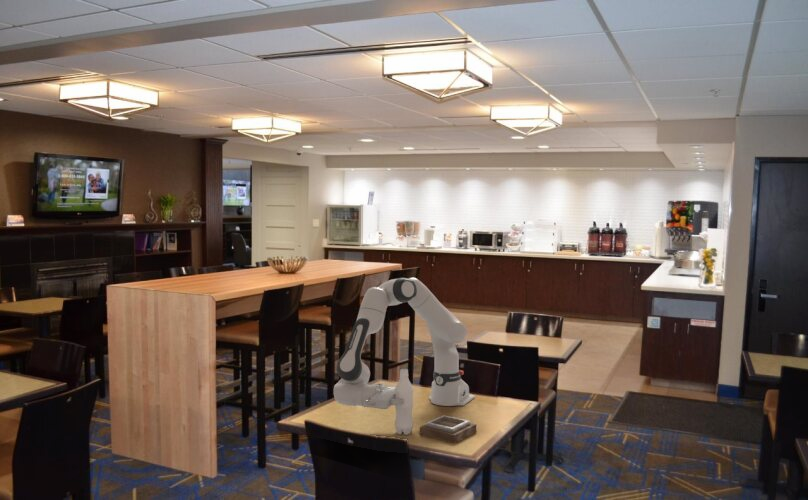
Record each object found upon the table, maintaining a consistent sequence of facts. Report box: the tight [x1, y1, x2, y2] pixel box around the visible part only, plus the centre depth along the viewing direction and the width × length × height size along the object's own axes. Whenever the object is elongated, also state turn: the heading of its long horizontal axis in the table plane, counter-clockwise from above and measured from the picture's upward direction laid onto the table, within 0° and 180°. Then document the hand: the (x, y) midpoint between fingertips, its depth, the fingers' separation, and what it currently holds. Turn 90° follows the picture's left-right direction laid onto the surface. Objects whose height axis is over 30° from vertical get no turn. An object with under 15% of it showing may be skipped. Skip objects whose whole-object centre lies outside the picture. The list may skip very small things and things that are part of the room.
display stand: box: [419, 414, 477, 444], centre depth 253 cm, size 16×16×4 cm
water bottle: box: [394, 368, 414, 436], centre depth 253 cm, size 7×7×25 cm
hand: (406, 399), depth 253 cm, fingers closed on water bottle, 7 cm apart
